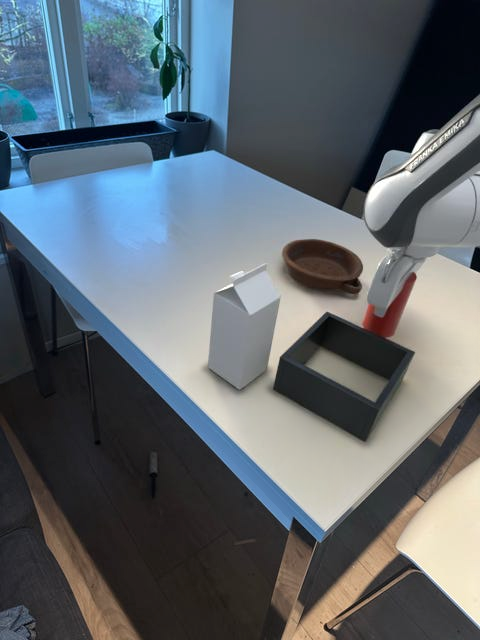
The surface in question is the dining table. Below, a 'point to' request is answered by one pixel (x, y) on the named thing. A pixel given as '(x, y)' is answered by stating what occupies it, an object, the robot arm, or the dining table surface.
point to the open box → (328, 394)
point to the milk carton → (243, 326)
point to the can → (389, 312)
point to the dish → (323, 265)
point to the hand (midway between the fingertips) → (387, 305)
